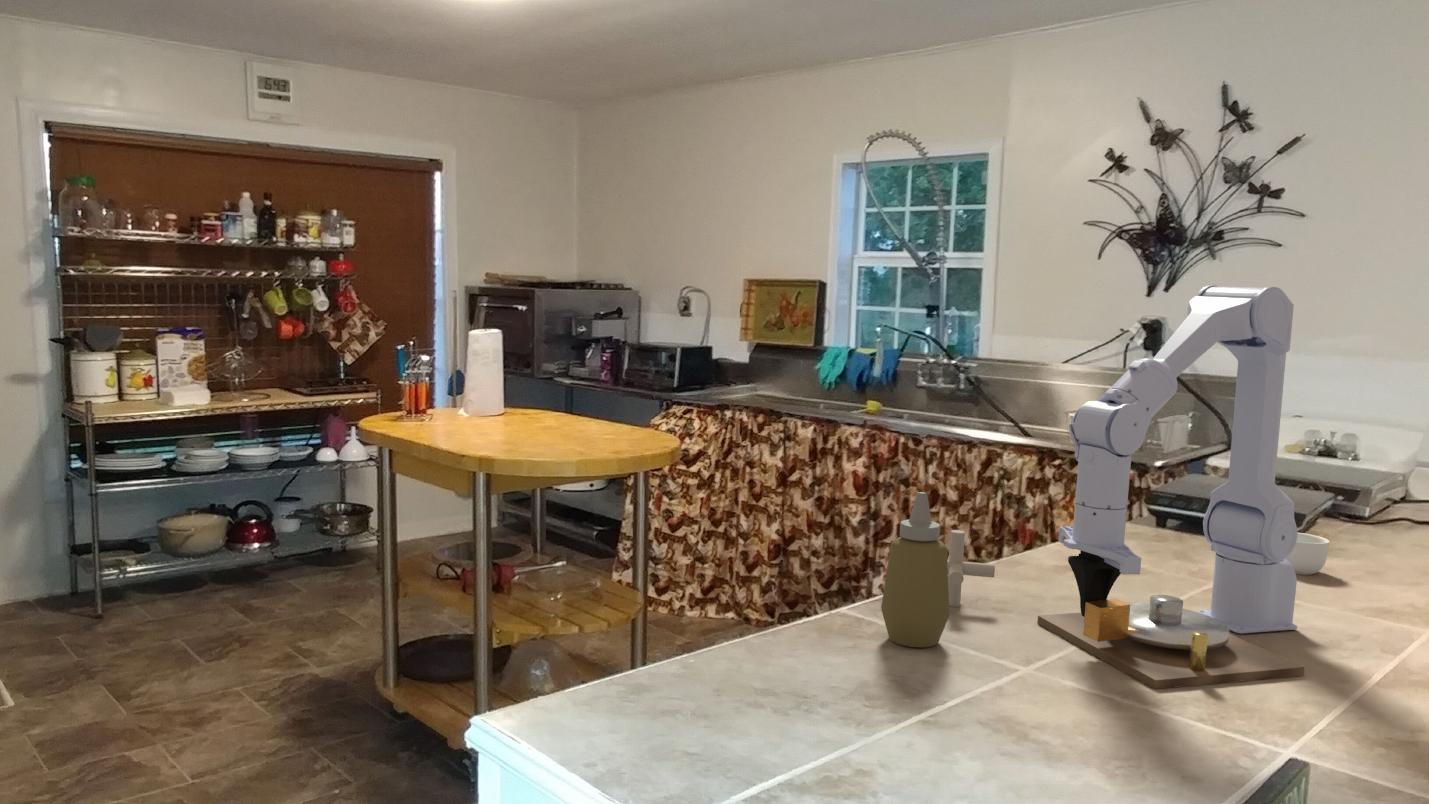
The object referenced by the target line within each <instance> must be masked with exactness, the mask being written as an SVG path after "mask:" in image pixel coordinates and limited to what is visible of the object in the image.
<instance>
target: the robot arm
mask: <svg viewBox="0 0 1429 804" xmlns="http://www.w3.org/2000/svg"><path fill="white" fill-rule="evenodd" d="M1293 317H1294V303H1293V302H1292V301H1291V299H1290V298H1289V296H1287V294H1286V292H1284V291H1283V289H1281V288H1280V287H1277V286H1265V287H1260V286H1259V287H1254V286H1253V287H1250V286H1248V287H1247V286H1218V285H1216V284H1215V285H1214V284H1211V285H1210V284H1209V285H1205V286H1203V287H1202V288H1201V289H1200V290H1199V291H1198V292H1197V293H1196V295H1195V296H1194V297H1193V298H1192V299H1190V300H1189V301H1188V306H1187V316H1186V318H1185V319H1184V320H1183V321H1182V323H1181V324H1179V326H1178V327H1177V329H1176V330H1175V331H1174V332H1173V333H1172V335H1171V336H1170V337H1169V339H1168V340H1166V342H1165V343H1164V345H1163V346H1161V348H1160V349H1159V350H1158V352H1157V353H1156V354H1155V355H1154V356H1153V358H1140V359H1138V360H1133V361H1132V362H1131V363H1130V364H1129V365H1128V367H1127V368H1128V369H1127V370H1126V371H1125V373H1123V374H1122V375H1121V377H1119V378H1118V380H1117V381H1115V382H1114V383H1113V385H1112V386H1110V388H1108V389H1107V390H1106V391H1105V392H1104V394H1103V395H1102V396H1101V397H1099V399H1098V400H1090V401H1087V402H1086V403H1084V404H1083V405H1081V406H1080V407H1079V408H1077V410H1076V412H1075V414H1073V415H1074V416H1073V417H1072V420H1071V421H1072V422H1071V423H1068V430H1069V431H1068V433H1069V436H1070V439H1071V441H1072V443H1073V444H1074V458H1075V460H1076V461H1077V462H1078V463H1077V474H1076V475H1077V476H1076V487H1075V488H1076V489H1075V500H1074V513H1073V526H1072V525H1071V526H1070V525H1069V526H1059V527H1058V538H1057V539H1058V542H1059V543H1060V544H1063V546H1064V547H1066V548H1068V549H1070V550H1078V551H1080V553H1078V555H1069V556H1068V558H1067V559H1068V560H1067V562H1068V564H1069V566H1070V568H1071V571H1072V572H1073V575H1074V578H1075V582H1076V584H1077V588H1078V594H1079V603H1080V605H1079V606H1080V613H1081V614H1082V616H1083V617H1085V605H1086V602H1089V601H1098V600H1108V596H1109V594H1110V591H1111V589H1112V587H1113V586H1114V584H1115V583H1116V580H1118V578H1119V576H1121V574H1122V575H1140V574H1141V569H1142V568H1141V567H1142V565H1141V564H1142V557H1141V556H1139V555H1137V553H1135V552H1134V551H1133V550H1132V549H1131V548H1130V547H1129V546H1128V545H1127V544H1126V542H1125V539H1126V538H1125V537H1126V526H1127V525H1126V524H1127V516H1128V514H1127V512H1128V502H1129V501H1128V500H1129V489H1130V477H1131V475H1130V474H1131V464H1132V454H1134V453H1135V452H1137V450H1139V449H1140V448H1141V447H1142V445H1143V443H1144V441H1145V439H1146V436H1147V435H1146V434H1147V431H1148V429H1149V427H1150V426H1151V423H1152V418H1153V417H1154V416H1155V415H1156V414H1157V413H1158V412H1159V411H1160V410H1161V409H1162V408H1163V407H1164V406H1165V405H1166V404H1167V403H1168V402H1169V400H1170V399H1172V397H1173V396H1174V395H1175V394H1176V393H1177V391H1178V384H1179V383H1178V379H1177V378H1178V377H1179V376H1180V375H1181V374H1183V372H1185V371H1186V370H1187V369H1188V368H1190V366H1191V365H1192V364H1194V363H1195V362H1196V361H1197V360H1198V359H1199V358H1200V357H1201V356H1203V355H1204V354H1206V352H1207V351H1208V350H1210V349H1211V348H1212V347H1213V346H1214V345H1216V343H1217V344H1219V345H1221V346H1223V347H1225V348H1226V349H1227V350H1228V352H1230V353H1231V354H1232V355H1233V356H1234V358H1235V359H1236V360H1237V373H1236V381H1235V383H1236V384H1235V395H1234V408H1233V417H1232V418H1233V419H1232V420H1233V421H1232V432H1231V444H1230V454H1229V455H1230V457H1229V466H1228V477H1227V478H1228V479H1227V481H1226V482H1225V483H1223V484H1221V485H1219V486H1217V487H1216V488H1214V489H1213V490H1211V492H1210V498H1209V505H1208V507H1207V510H1206V511H1205V513H1204V517H1203V520H1202V527H1203V528H1202V529H1203V534H1204V537H1205V539H1206V542H1208V543H1209V544H1211V545H1210V551H1212V552H1214V553H1215V558H1214V559H1215V560H1214V569H1213V577H1212V578H1213V579H1212V590H1211V600H1210V601H1211V602H1210V609H1207V610H1206V609H1202V610H1195V612H1198V613H1201V614H1204V615H1207V616H1210V617H1212V618H1215V619H1217V620H1219V621H1220V622H1222V623H1224V624H1225V625H1226V626H1227V627H1228V628H1229V630H1230V631H1231V632H1233V633H1236V634H1250V633H1251V634H1252V633H1254V634H1255V633H1265V632H1267V633H1268V632H1278V631H1289V630H1290V631H1292V630H1297V629H1298V625H1297V624H1295V623H1293V622H1294V611H1295V601H1296V591H1297V585H1298V584H1297V582H1298V581H1297V580H1298V579H1297V574H1295V571H1294V568H1293V566H1292V565H1291V563H1290V562H1289V561H1288V560H1286V559H1285V558H1286V557H1287V556H1288V555H1289V554H1290V553H1291V552H1292V550H1293V549H1294V547H1295V544H1296V541H1297V532H1298V527H1297V524H1296V520H1295V505H1296V504H1295V502H1294V501H1293V499H1292V498H1290V497H1289V496H1288V494H1286V493H1285V492H1284V491H1282V489H1281V488H1280V487H1279V486H1278V485H1277V484H1276V475H1277V474H1276V473H1277V463H1278V462H1277V459H1278V449H1279V440H1280V439H1279V438H1280V428H1281V417H1282V405H1283V393H1284V381H1285V372H1286V360H1287V353H1288V352H1289V351H1291V350H1290V349H1291V341H1292V340H1291V339H1292V328H1293Z"/></svg>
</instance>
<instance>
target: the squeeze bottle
mask: <svg viewBox="0 0 1429 804" xmlns="http://www.w3.org/2000/svg"><path fill="white" fill-rule="evenodd" d="M899 525H900V526H899V535H900V536H899V537H897V538H895V539H894V540H893V541H892V542H891V543H890V551H889V556H888V562H887V568H886V569H887V570H886V573H885V574H886V575H885V581H884V588H883V594H882V600H881V607H880V608H881V614H882V617H883V619H884V620H883V621H884V625H885V627H886V631H887V636H888V638H889V640H890V641H892V642H893V643H895V644H897V645H900V646H904V647H910V648H921V649H922V648H930V647H934V646H936V645H938V643H940V642H939V641H940V639H941V637H942V634H943V632H944V631H945V627H946V626H947V622H948V620H949V619H950V618H949V617H950V606H949V589H948V565H947V560H948V548H947V545H945V544H944V542H943V541H940V540H939V539H940V536H941V535H940V534H941V525H940V524H939V522H936V521H934V520H933V521H932V516H931V510H930V503H929V496H928V493H927V492H924V491H920V492H919V491H918V492H916V493H915V499H914V502H913V506H912V509H911V513H910V516H909V519H904V520H901V521H900V522H899Z"/></svg>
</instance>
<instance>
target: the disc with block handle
mask: <svg viewBox="0 0 1429 804" xmlns="http://www.w3.org/2000/svg"><path fill="white" fill-rule="evenodd" d="M1183 604H1184V601H1183V599H1181V598H1179V597H1176V596H1172V595H1168V594H1153V595H1151V596H1150V599H1149V603H1147V602H1145V603H1143V602H1124V601H1122V600H1119V599H1118V598H1109V599H1108V598H1107V599H1106V600H1098V601H1089V602H1086V605H1085V618H1084V631H1083V635H1084V636H1086V637H1089V638H1091V639H1093V640H1095V641H1097V642H1100V641H1108V640H1116V639H1124V638H1128V639H1131V640H1134V641H1138V642H1141V643H1145V644H1150V645H1155V646H1160V647H1166V648H1174V649H1186V650H1191V640H1192V632H1203V633H1206V634H1208V641H1207V649H1214V648H1219V647H1222V646H1224V645H1226V644H1227V643H1228V641H1229V634H1230V631H1231V630H1229V628H1228V627H1227V626H1226V625H1225V624H1224V623H1222V622H1220V621H1219V620H1217V619H1215V618H1212V617H1210V616H1207V615H1204V614H1201V613H1198V612H1195V611H1196V610H1195V611H1194V610H1192V609H1191V610H1190V609H1186V608H1184V607H1183V606H1184V605H1183Z"/></svg>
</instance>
